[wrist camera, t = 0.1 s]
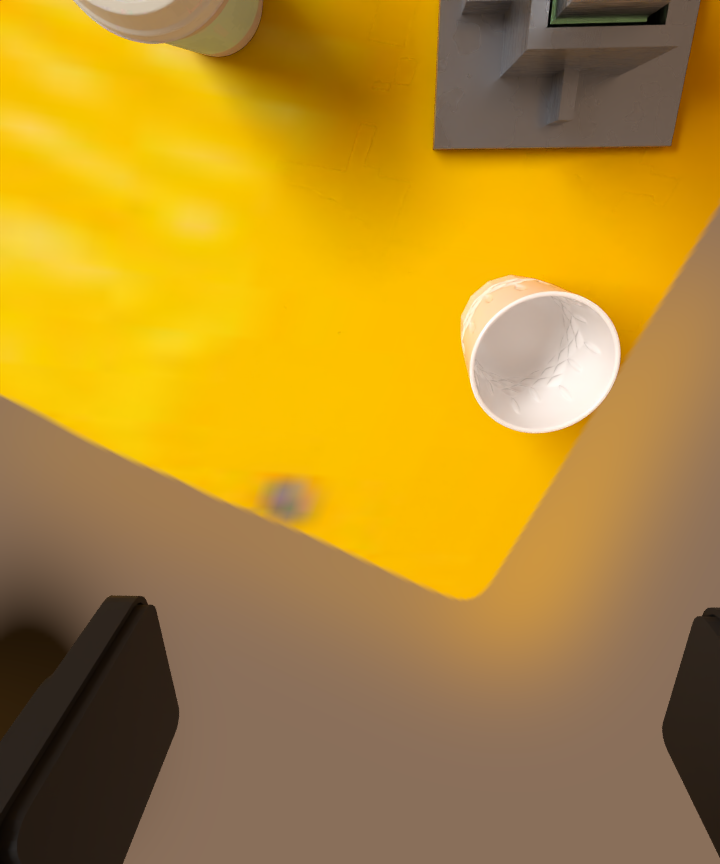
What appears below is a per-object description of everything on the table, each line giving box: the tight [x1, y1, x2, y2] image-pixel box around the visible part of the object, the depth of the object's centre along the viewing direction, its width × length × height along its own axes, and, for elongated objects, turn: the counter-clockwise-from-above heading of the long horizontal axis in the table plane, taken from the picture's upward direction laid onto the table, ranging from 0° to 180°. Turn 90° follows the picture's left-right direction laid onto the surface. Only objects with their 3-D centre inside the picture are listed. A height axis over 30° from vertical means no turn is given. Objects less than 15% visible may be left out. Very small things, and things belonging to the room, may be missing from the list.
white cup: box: [461, 275, 621, 433], centre depth 33 cm, size 8×8×10 cm
